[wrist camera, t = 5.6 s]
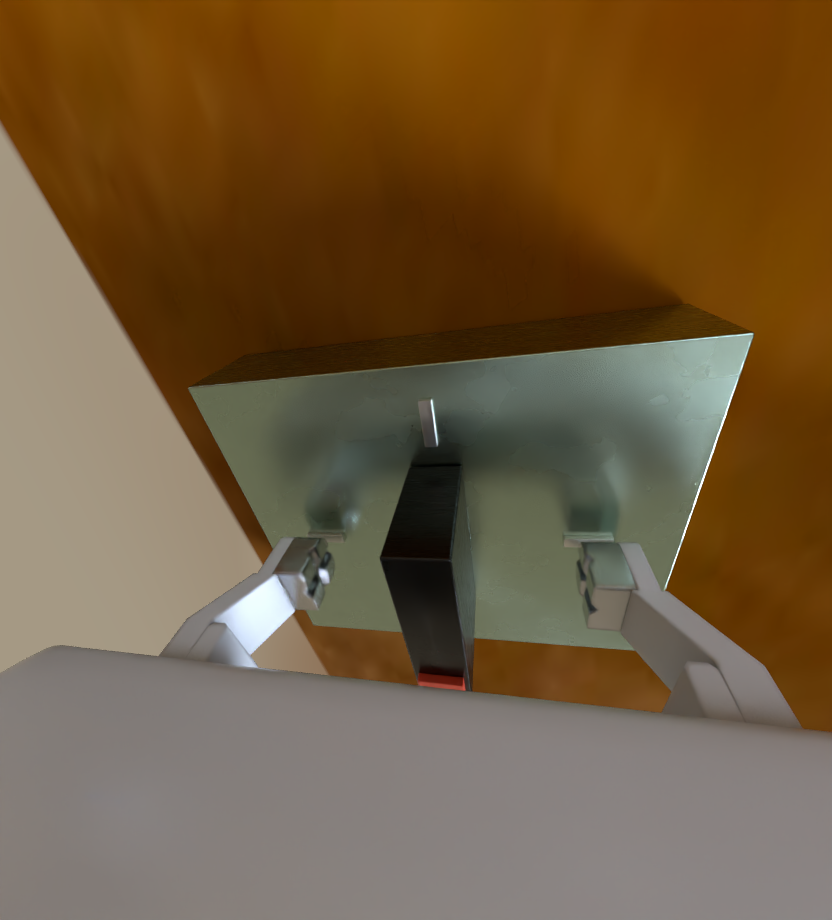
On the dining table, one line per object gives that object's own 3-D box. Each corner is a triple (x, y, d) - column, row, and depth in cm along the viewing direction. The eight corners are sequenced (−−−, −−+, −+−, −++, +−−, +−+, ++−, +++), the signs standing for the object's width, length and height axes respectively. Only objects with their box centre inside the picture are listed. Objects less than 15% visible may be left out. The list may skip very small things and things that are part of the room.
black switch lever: (408, 466, 11) (374, 567, 8) (462, 464, 10) (450, 570, 7) (434, 593, 14) (418, 700, 11) (475, 595, 13) (471, 706, 10)
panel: (335, 573, 19) (311, 629, 17) (244, 355, 13) (182, 389, 10) (620, 585, 16) (646, 656, 14) (689, 303, 10) (762, 334, 7)
